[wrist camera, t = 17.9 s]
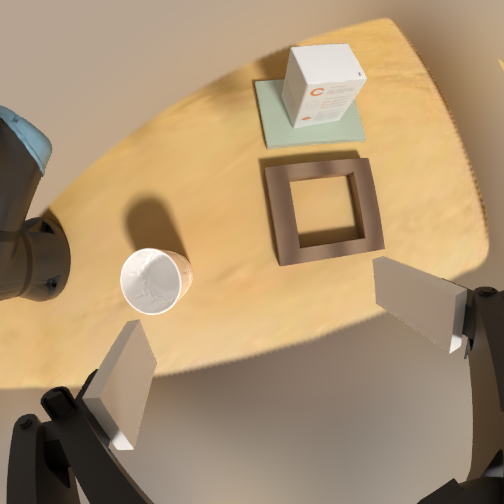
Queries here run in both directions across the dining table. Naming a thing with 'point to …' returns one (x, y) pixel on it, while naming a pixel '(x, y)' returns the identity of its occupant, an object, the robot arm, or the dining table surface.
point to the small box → (320, 83)
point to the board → (285, 135)
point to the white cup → (155, 279)
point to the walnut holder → (285, 214)
